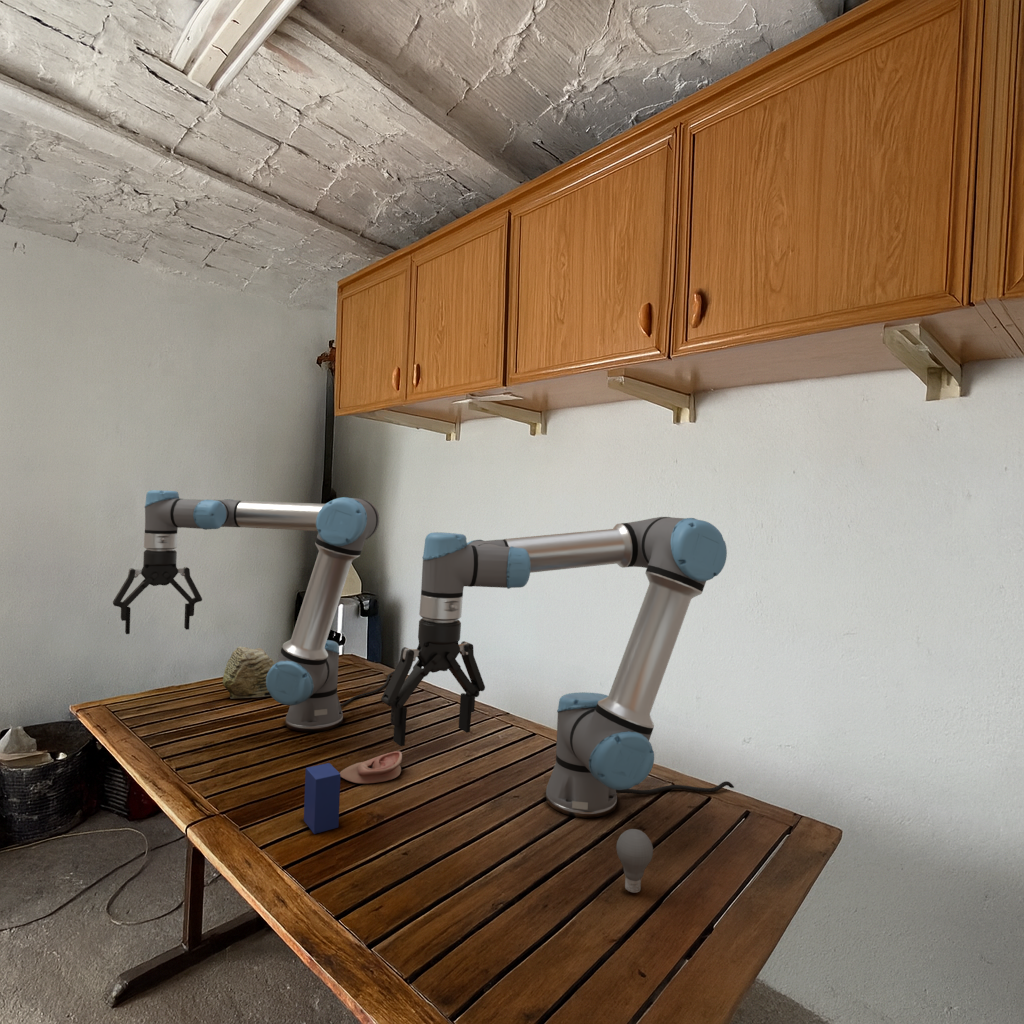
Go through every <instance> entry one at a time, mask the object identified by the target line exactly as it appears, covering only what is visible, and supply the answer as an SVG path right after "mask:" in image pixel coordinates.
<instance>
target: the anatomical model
mask: <svg viewBox="0 0 1024 1024" xmlns="http://www.w3.org/2000/svg"><path fill="white" fill-rule="evenodd" d="M402 761H403V754H402V751H399V750H397V751H391V752H387V753H384V754H381V755H377V756H375V757H373V758H370V759H367V760H365V761H361V762H355V763H353V764H351V765H349V766H347V767H345V768H343V769H342V770H341V771H339V773H340V778H341V779H344V780H346V781H347V782H350V783H352V784H353V783H354V784H375V783H383V782H387V781H391V780H393V779H396V778H398V777H399V776H400V774H401V772H402V767H401V763H402Z"/></svg>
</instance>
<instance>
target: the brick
mask: <svg viewBox="0 0 1024 1024" xmlns="http://www.w3.org/2000/svg"><path fill="white" fill-rule="evenodd" d="M304 773H305V776H304V778H305V780H304V803H303V804H304V806H303V821H304V823H305V824H306V826H307V827H308V828H309V829H310V831H311V832H312V834H314V835H316V834H319V833H323V832H327V831H331V830H334V829H337V828H339V826H340V825H339V824H340V822H339V820H340V798H341V797H340V796H341V795H340V794H341V777H340V771H338V770H337V769H336V768H335V767H334V766H333V765H332V764H331V763H330V762H327V763H322V764H318V765H313V766H308V767H306V768H305V772H304Z"/></svg>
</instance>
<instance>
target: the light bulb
mask: <svg viewBox="0 0 1024 1024" xmlns="http://www.w3.org/2000/svg"><path fill="white" fill-rule="evenodd" d="M615 849H616V854H617V857H618V859H619V861H620V863H621V865H622V867H623V873H624V874H623V875H624V876H625V878H624V888H625V890H627V891H628V892H630V893H634V894H635V893H639V892H640V891H641V889H642V887H641V886H642V879H643V877H644V875H645V871H646V868H647V867H648V866H649V864H650V863H651V861H652V859H653V855H654V847H653V843H652V841H651V838H649V836H648V835H647V834H646V833H645V832H643V831H642V830H641V829H636V828H629V829H627V830H625V831H623V832H622V833H621V834H620V835H619V837H618V839H617V841H616V847H615Z"/></svg>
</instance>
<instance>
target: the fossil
mask: <svg viewBox="0 0 1024 1024" xmlns="http://www.w3.org/2000/svg"><path fill="white" fill-rule="evenodd" d="M274 664H276V662H274V660H273V659H272V658H271V657H270V656H269V655H268V654H267V653H266V652H265V650H264V649H263V648H260V647H258V648H251V647H247V646H246V647H245V646H238V647H237V648H236V649H235V650H233V651H232V653H231V656H230V657H229V659H228V660H227V663H226V666H225V668H224V671H223V675H222V676H223V677H222V685H223V687H224V688H225V690H226V691H228V693H229V698H230V699H250V698H264V697H272V696H271V694H270V693H269V691H268V690H267V686H266V677H267V674H268V672H269V670H270V669H271V668H272V666H273V665H274Z"/></svg>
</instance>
